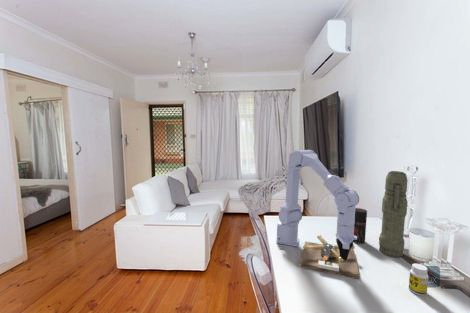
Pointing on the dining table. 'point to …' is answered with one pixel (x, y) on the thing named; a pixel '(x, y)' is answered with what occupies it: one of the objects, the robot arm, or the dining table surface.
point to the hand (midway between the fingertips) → (343, 259)
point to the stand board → (345, 268)
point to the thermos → (393, 214)
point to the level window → (328, 266)
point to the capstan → (326, 250)
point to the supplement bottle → (418, 279)
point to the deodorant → (360, 225)
